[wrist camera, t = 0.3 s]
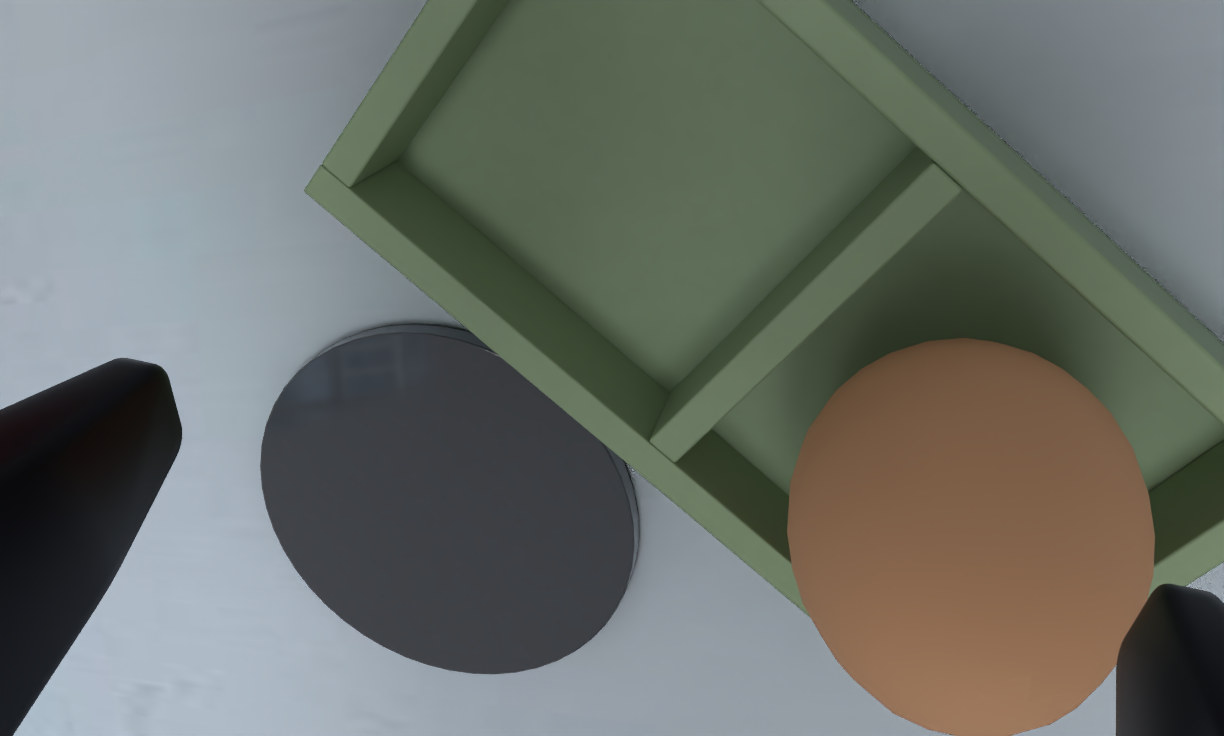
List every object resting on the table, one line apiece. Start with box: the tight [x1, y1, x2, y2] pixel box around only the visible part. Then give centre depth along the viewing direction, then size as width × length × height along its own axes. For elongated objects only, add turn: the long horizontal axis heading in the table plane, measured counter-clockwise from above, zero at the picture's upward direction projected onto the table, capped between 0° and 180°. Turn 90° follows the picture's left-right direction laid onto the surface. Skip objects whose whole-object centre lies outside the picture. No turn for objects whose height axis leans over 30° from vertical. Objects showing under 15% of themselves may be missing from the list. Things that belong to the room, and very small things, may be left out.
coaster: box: [260, 324, 639, 674], centre depth 29 cm, size 11×11×1 cm
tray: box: [304, 0, 1224, 735], centre depth 23 cm, size 10×19×3 cm, turn 52°
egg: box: [787, 338, 1155, 736], centre depth 20 cm, size 7×7×9 cm
